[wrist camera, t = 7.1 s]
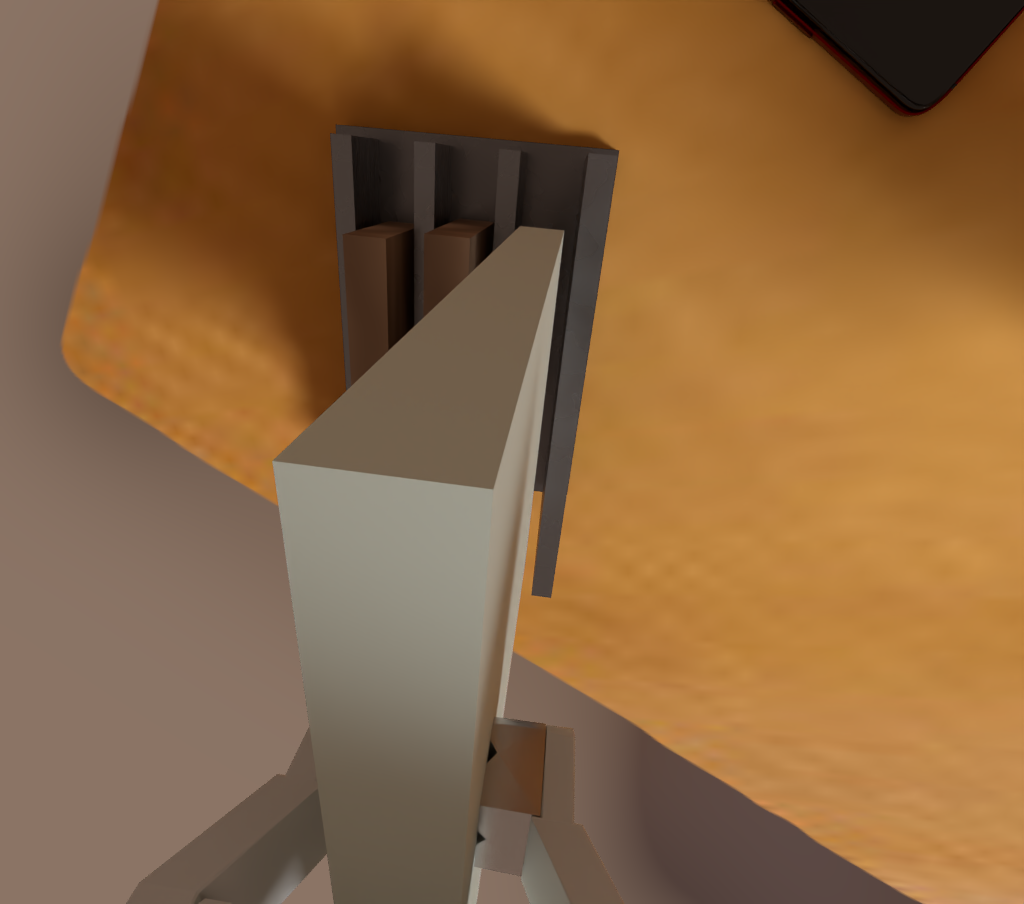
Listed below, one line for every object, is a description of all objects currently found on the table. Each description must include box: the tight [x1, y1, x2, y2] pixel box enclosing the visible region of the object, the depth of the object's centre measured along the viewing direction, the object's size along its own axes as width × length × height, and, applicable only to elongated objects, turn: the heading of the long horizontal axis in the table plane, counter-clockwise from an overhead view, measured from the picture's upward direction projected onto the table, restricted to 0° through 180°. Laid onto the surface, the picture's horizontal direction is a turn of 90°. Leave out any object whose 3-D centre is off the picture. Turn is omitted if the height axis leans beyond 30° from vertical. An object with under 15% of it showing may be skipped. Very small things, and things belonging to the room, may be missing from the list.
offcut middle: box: [423, 219, 495, 318], centre depth 30 cm, size 2×13×8 cm, turn 175°
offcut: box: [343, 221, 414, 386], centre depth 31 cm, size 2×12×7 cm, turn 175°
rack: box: [330, 125, 619, 598], centre depth 29 cm, size 15×21×12 cm
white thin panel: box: [273, 226, 564, 904], centre depth 15 cm, size 2×15×18 cm, turn 175°
